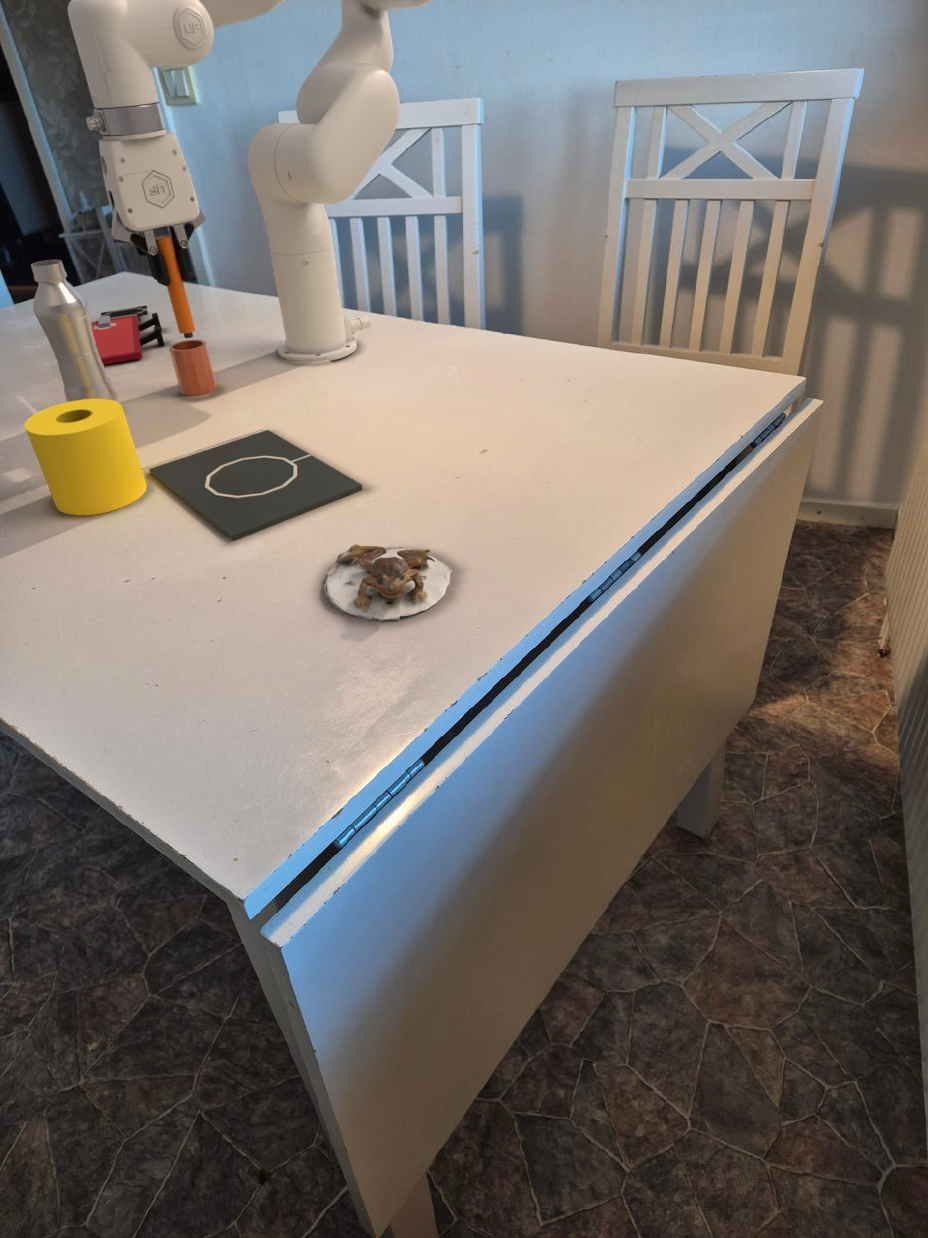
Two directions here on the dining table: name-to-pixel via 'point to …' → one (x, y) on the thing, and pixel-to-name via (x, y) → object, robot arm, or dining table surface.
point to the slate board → (253, 483)
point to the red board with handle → (124, 334)
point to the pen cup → (193, 367)
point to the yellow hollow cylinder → (87, 456)
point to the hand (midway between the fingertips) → (174, 280)
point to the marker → (176, 287)
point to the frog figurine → (385, 582)
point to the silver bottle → (70, 334)
